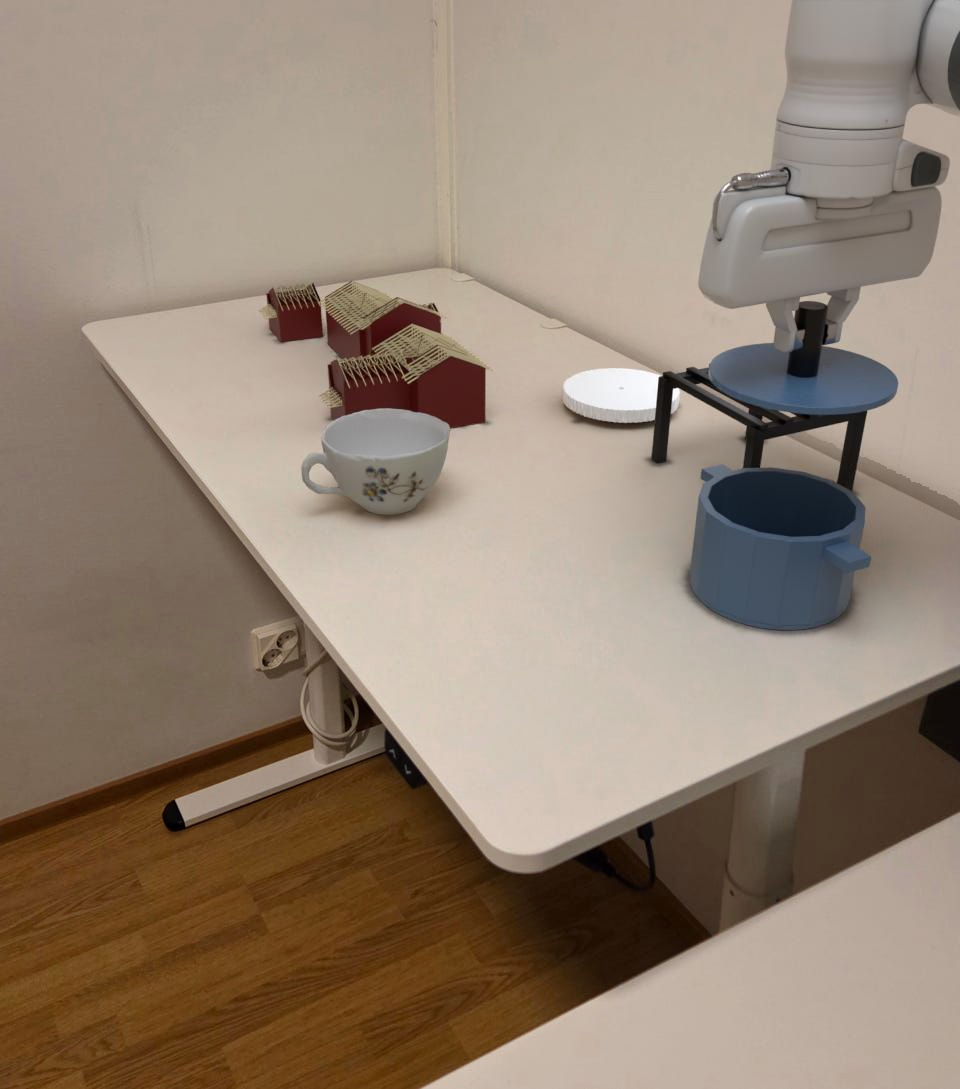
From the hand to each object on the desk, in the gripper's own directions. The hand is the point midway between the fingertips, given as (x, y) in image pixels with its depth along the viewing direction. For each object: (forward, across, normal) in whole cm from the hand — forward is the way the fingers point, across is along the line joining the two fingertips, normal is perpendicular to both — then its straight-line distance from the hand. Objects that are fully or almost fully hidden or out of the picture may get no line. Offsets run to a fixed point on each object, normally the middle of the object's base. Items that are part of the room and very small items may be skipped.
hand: (806, 345), depth 87 cm
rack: (+22, +13, +19) cm, 32 cm away
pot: (+22, 0, 0) cm, 22 cm away
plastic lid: (+22, +11, +41) cm, 48 cm away
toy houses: (+22, -12, +67) cm, 71 cm away
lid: (+3, 0, 0) cm, 3 cm away
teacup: (+22, -25, +30) cm, 45 cm away
